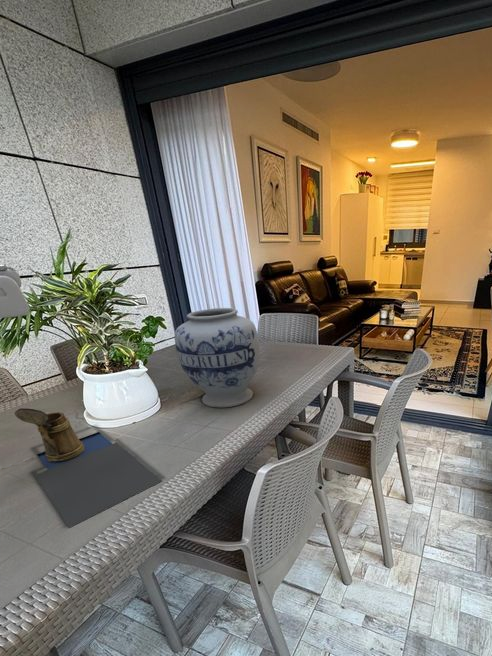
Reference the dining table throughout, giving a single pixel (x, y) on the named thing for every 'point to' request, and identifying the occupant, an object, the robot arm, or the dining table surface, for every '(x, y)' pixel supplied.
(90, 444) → the mat
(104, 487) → the plate
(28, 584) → the dining table surface
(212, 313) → the apothecary jar
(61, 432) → the wooden mug
